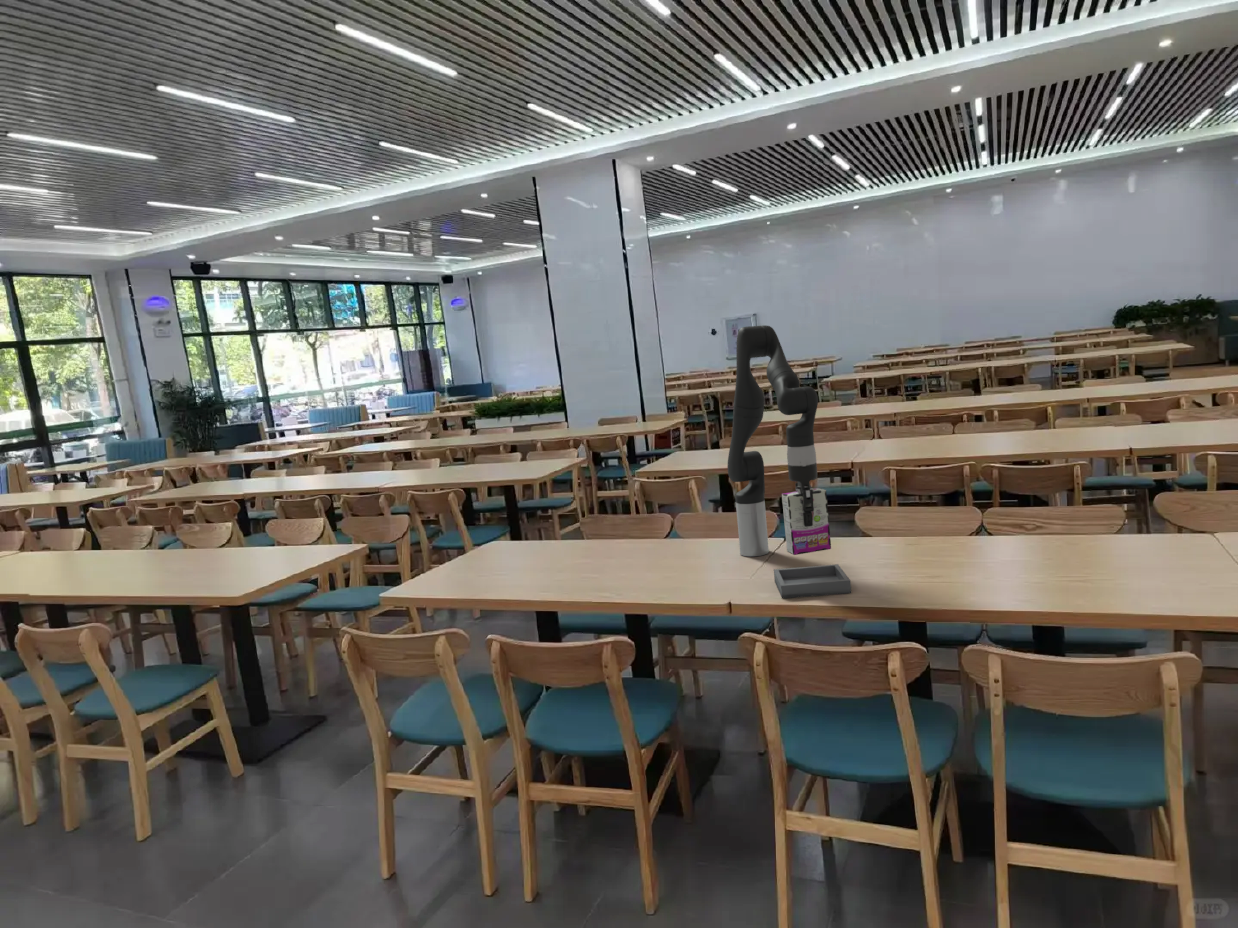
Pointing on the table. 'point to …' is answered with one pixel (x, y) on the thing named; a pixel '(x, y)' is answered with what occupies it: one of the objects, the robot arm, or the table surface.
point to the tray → (812, 581)
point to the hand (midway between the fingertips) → (806, 523)
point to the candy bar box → (796, 532)
